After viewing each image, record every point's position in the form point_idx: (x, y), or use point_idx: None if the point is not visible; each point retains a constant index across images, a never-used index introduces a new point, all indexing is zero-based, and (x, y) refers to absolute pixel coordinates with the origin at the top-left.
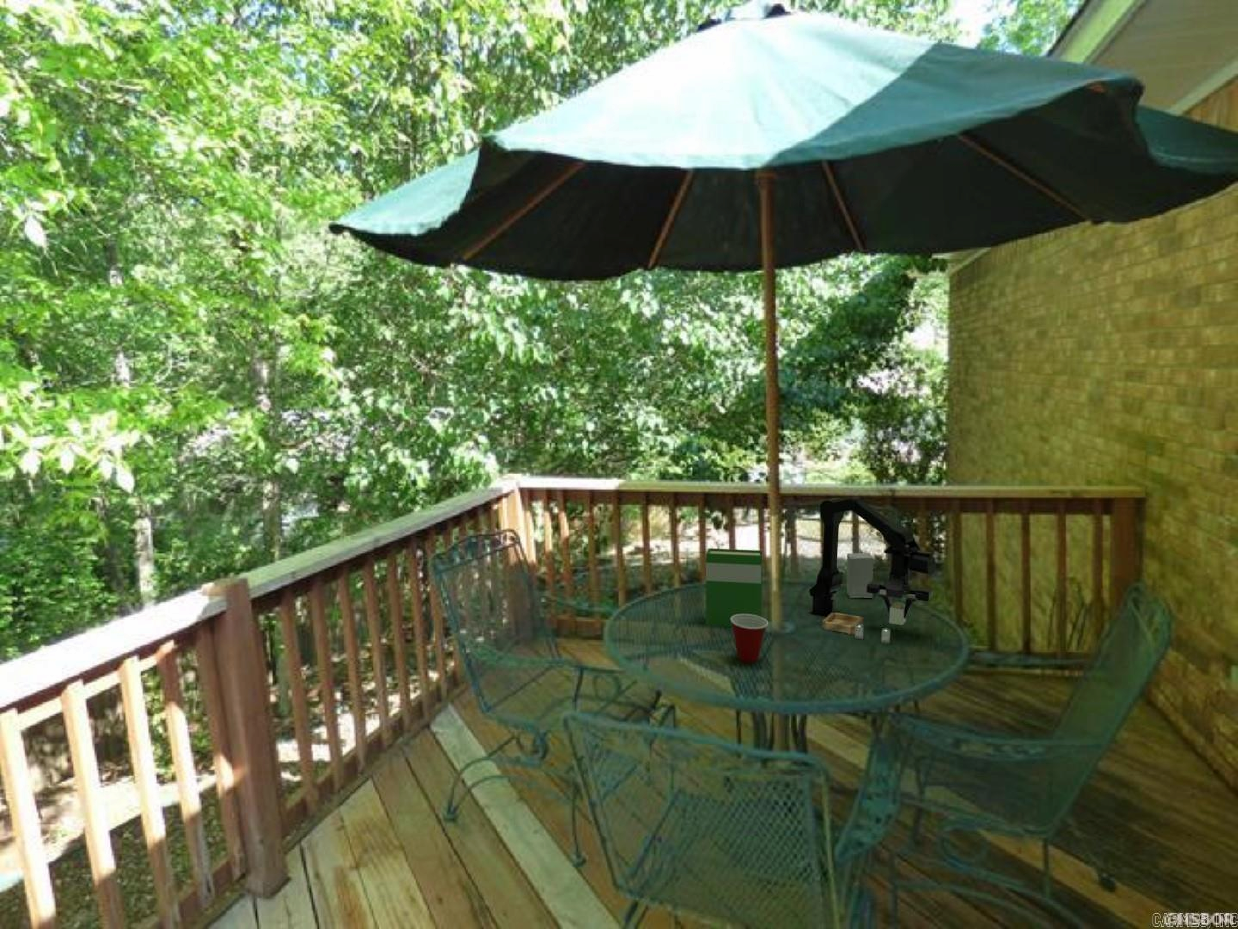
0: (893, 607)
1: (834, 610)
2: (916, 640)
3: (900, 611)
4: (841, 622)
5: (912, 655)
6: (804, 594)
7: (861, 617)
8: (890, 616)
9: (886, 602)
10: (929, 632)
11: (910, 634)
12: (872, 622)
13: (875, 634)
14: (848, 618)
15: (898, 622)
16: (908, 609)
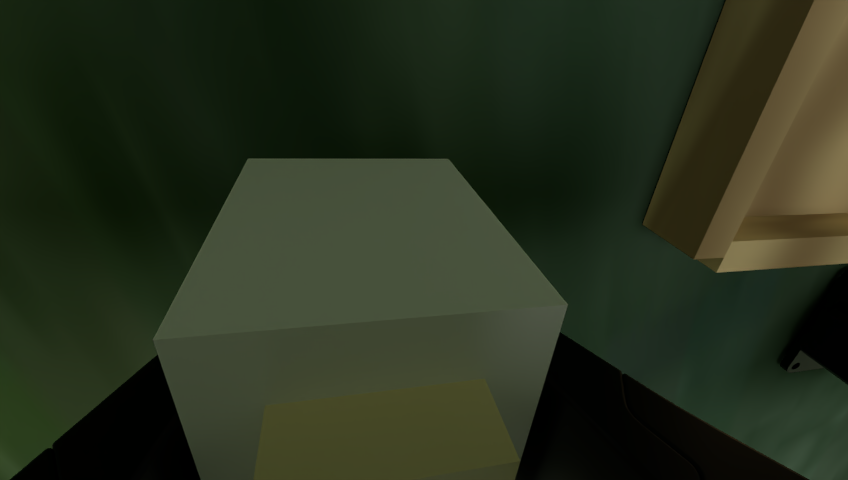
0: (477, 361)
1: (807, 350)
2: (34, 22)
3: (259, 285)
4: (838, 147)
5: None
6: (839, 468)
7: (711, 256)
8: (466, 198)
9: (713, 450)
10: (73, 350)
11: (207, 208)
12: (569, 317)
13: (548, 14)
14: (790, 226)
15: (313, 168)
16: (44, 450)
